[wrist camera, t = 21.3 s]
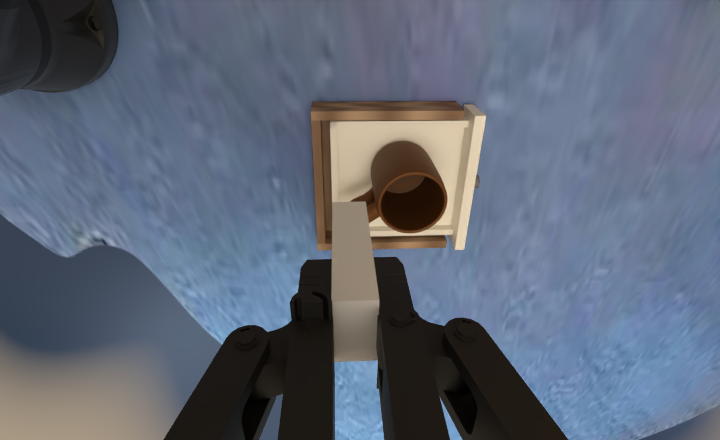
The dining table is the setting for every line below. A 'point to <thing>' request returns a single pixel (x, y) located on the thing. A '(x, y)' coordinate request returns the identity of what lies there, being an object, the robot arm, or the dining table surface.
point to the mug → (405, 189)
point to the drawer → (442, 143)
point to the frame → (322, 158)
